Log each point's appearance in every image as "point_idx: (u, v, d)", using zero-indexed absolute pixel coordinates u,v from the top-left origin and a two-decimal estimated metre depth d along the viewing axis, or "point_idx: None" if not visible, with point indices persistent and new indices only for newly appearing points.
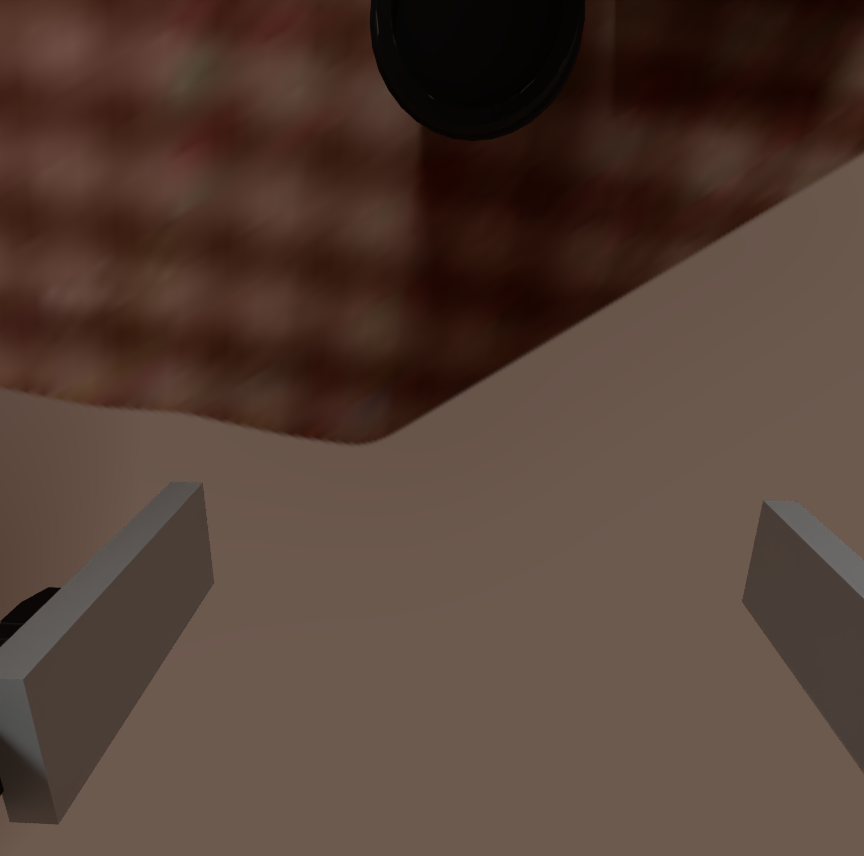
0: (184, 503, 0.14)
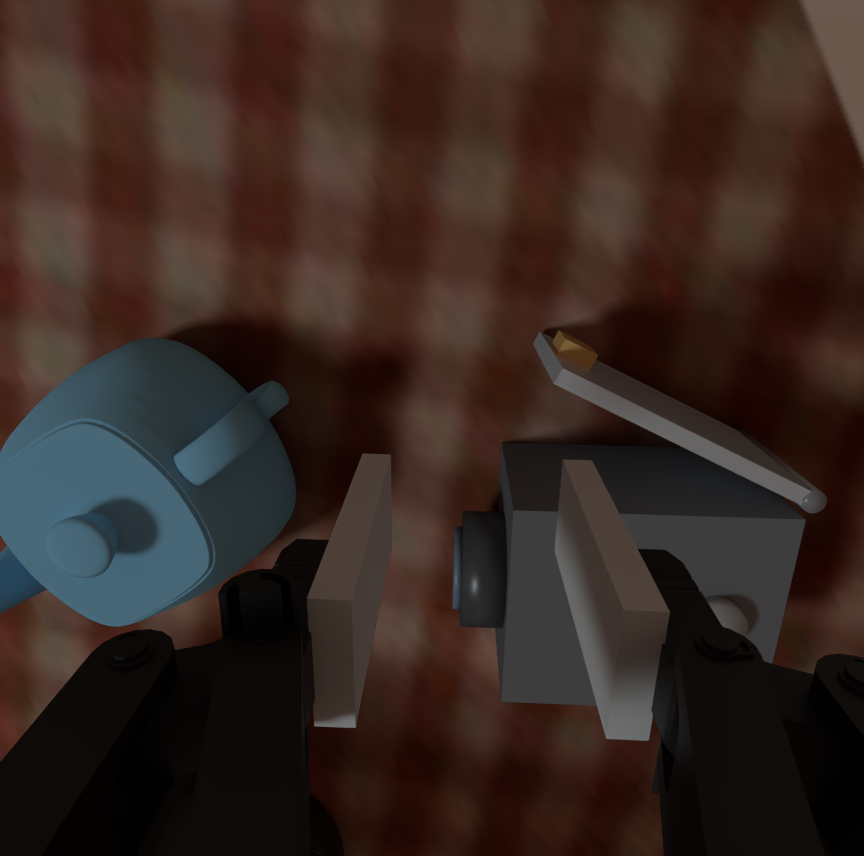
0: (387, 470, 0.16)
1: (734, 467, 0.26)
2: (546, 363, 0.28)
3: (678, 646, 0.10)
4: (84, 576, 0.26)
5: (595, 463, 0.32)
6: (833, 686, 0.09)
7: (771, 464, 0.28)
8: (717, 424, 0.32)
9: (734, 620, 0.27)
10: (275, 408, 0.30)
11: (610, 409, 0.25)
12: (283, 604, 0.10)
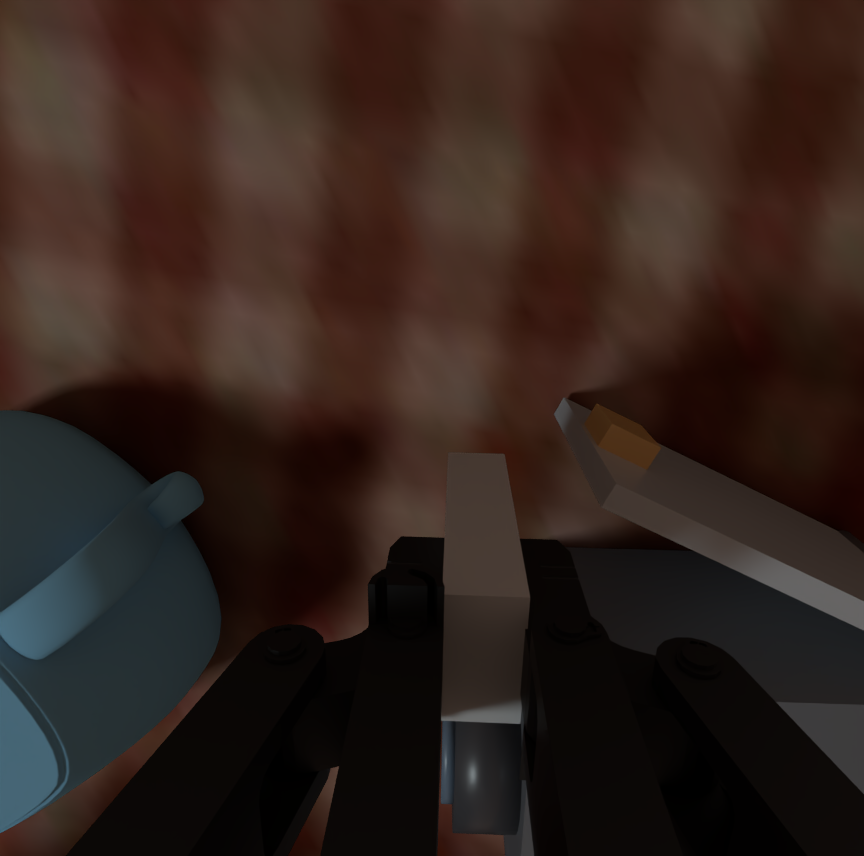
0: (477, 469, 0.16)
1: None
2: (581, 459, 0.18)
3: (532, 635, 0.10)
4: None
5: (644, 586, 0.22)
6: (672, 672, 0.09)
7: None
8: (818, 530, 0.22)
9: None
10: (179, 515, 0.21)
11: (690, 546, 0.16)
12: (427, 603, 0.10)
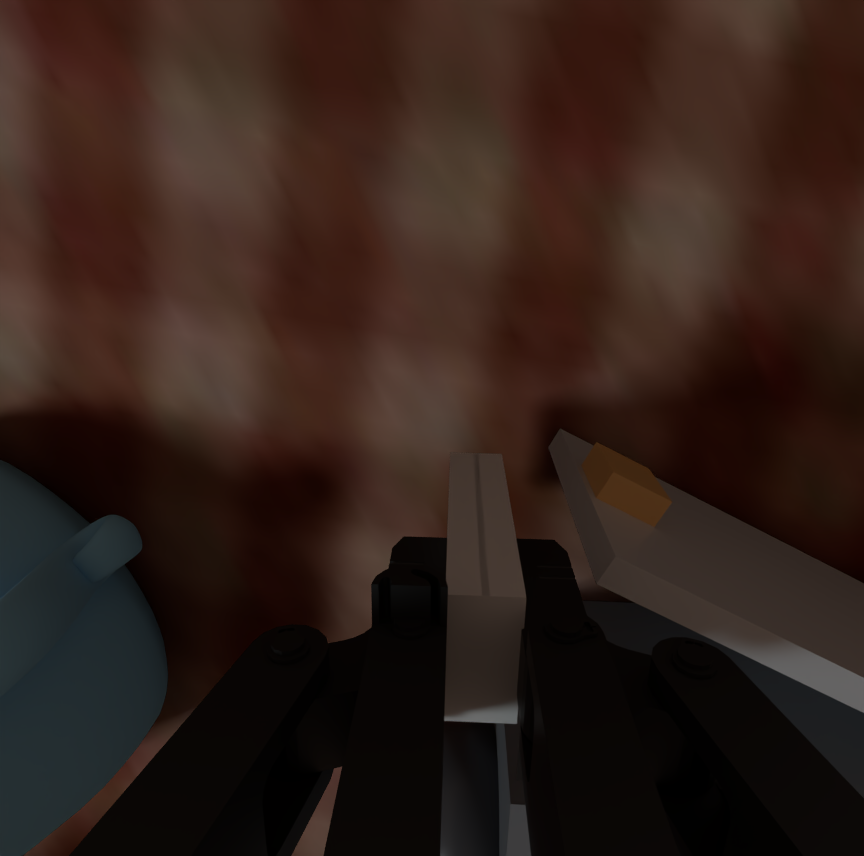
0: (480, 469, 0.16)
1: None
2: (576, 513, 0.15)
3: (528, 635, 0.10)
4: None
5: (647, 652, 0.19)
6: (668, 672, 0.09)
7: None
8: (851, 590, 0.19)
9: None
10: (109, 568, 0.18)
11: (706, 633, 0.13)
12: (430, 603, 0.10)
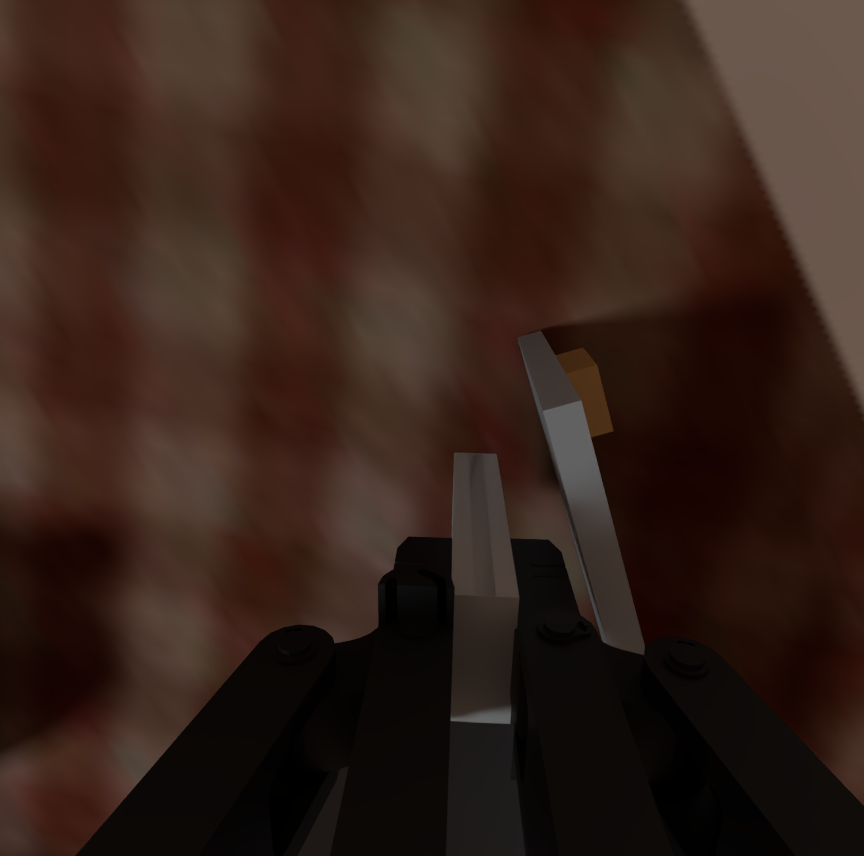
0: (484, 469, 0.16)
1: None
2: (536, 372, 0.14)
3: (522, 635, 0.10)
4: None
5: None
6: (660, 672, 0.09)
7: None
8: None
9: None
10: None
11: (580, 530, 0.12)
12: (436, 603, 0.10)
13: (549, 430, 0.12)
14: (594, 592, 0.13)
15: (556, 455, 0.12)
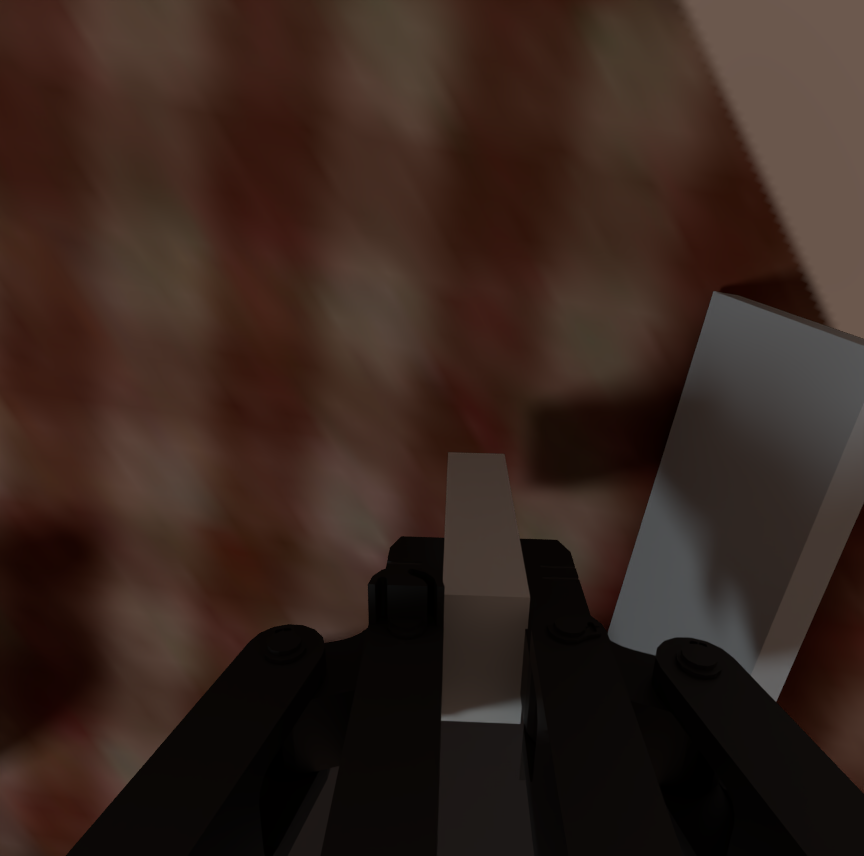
0: (477, 469, 0.16)
1: None
2: (805, 323, 0.13)
3: (532, 635, 0.10)
4: None
5: None
6: (672, 672, 0.09)
7: None
8: None
9: None
10: None
11: (831, 491, 0.11)
12: (427, 602, 0.10)
13: None
14: (799, 558, 0.12)
15: None
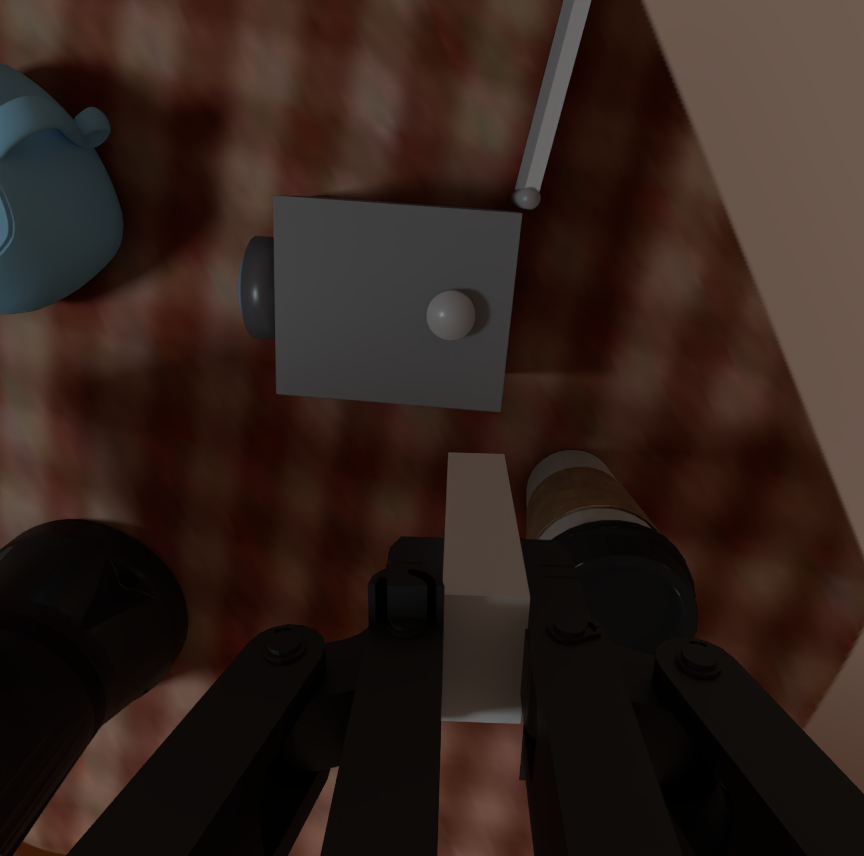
0: (477, 469, 0.16)
1: (549, 111, 0.29)
2: None
3: (532, 635, 0.10)
4: None
5: (380, 201, 0.36)
6: (672, 672, 0.09)
7: None
8: None
9: (462, 305, 0.31)
10: (92, 126, 0.34)
11: None
12: (427, 602, 0.10)
13: None
14: (574, 2, 0.28)
15: None
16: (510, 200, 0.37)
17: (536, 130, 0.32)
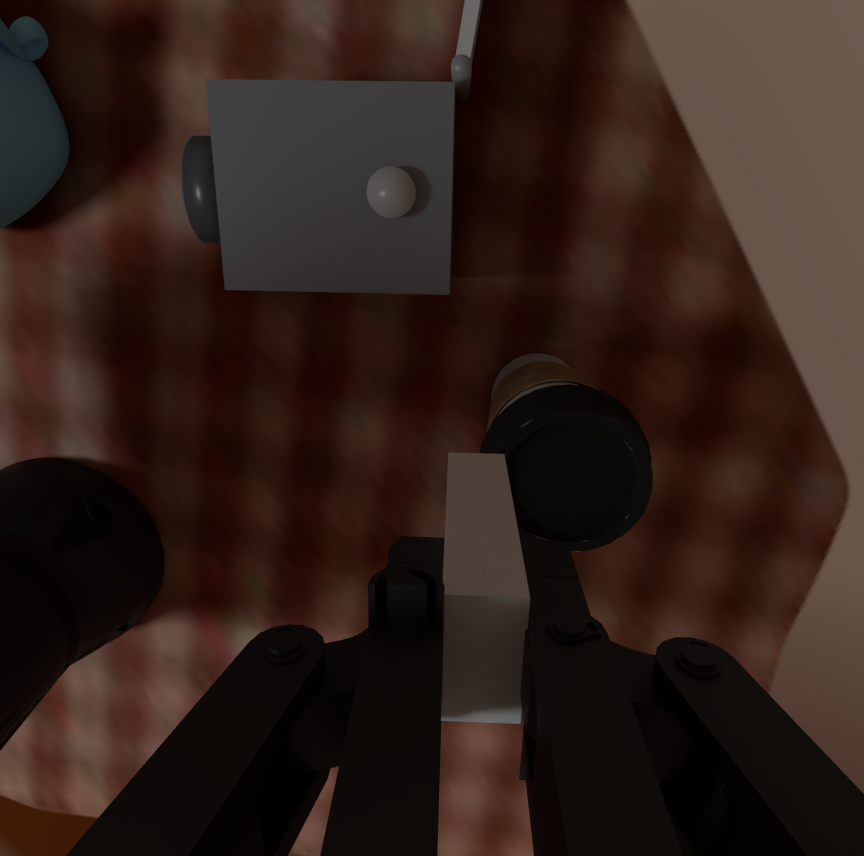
0: (477, 469, 0.16)
1: None
2: None
3: (532, 635, 0.10)
4: None
5: None
6: (672, 672, 0.09)
7: (473, 44, 0.32)
8: None
9: (401, 180, 0.31)
10: (28, 34, 0.34)
11: None
12: (427, 602, 0.10)
13: None
14: None
15: None
16: None
17: None
